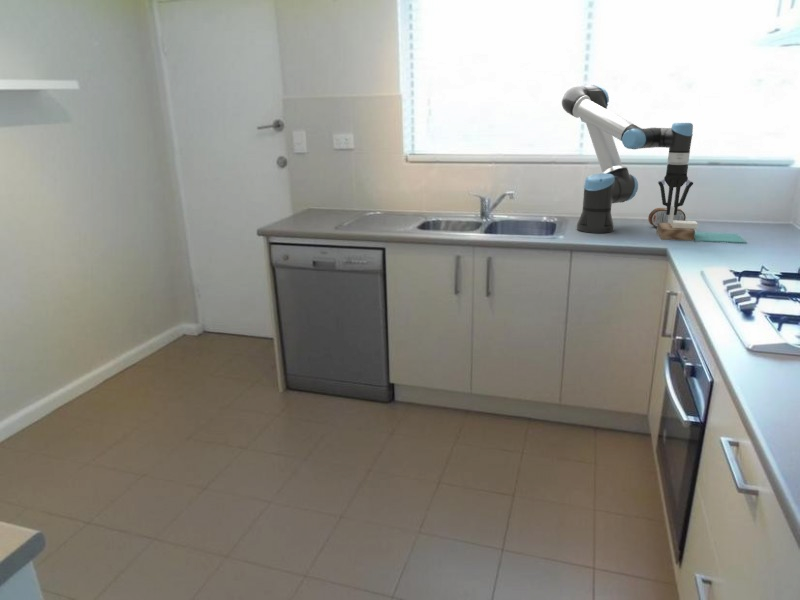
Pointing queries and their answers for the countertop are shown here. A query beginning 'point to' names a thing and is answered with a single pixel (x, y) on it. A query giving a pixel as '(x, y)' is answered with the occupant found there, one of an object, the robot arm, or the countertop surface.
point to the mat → (718, 237)
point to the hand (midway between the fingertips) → (670, 222)
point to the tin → (664, 216)
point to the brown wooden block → (674, 232)
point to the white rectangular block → (684, 224)
